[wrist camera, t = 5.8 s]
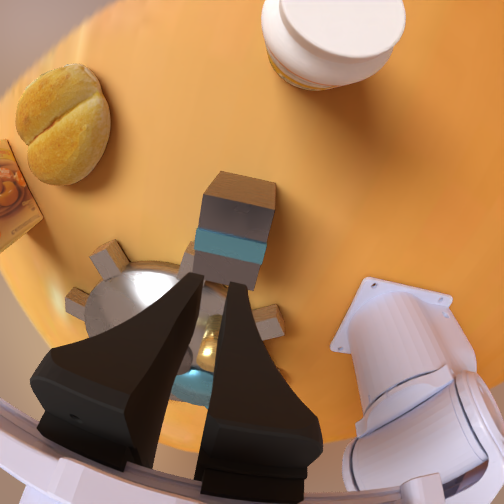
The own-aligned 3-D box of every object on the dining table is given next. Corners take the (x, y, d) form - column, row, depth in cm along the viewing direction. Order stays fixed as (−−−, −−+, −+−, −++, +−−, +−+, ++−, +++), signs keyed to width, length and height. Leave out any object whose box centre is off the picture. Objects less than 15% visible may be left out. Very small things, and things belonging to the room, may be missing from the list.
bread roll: (56, 192, 20) (25, 210, 17) (25, 99, 16) (-8, 106, 13) (132, 156, 19) (103, 170, 15) (98, 47, 15) (64, 42, 11)
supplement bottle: (335, 5, 13) (385, -64, 4) (366, 80, 15) (447, 68, 7) (253, 26, 14) (230, -42, 5) (284, 101, 16) (294, 99, 8)
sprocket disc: (313, 385, 28) (316, 431, 23) (149, 406, 33) (137, 441, 28) (224, 192, 19) (206, 226, 14) (40, 276, 24) (9, 309, 19)
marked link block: (276, 183, 19) (276, 211, 14) (259, 249, 21) (254, 292, 17) (220, 170, 19) (201, 194, 14) (208, 238, 21) (190, 278, 17)
